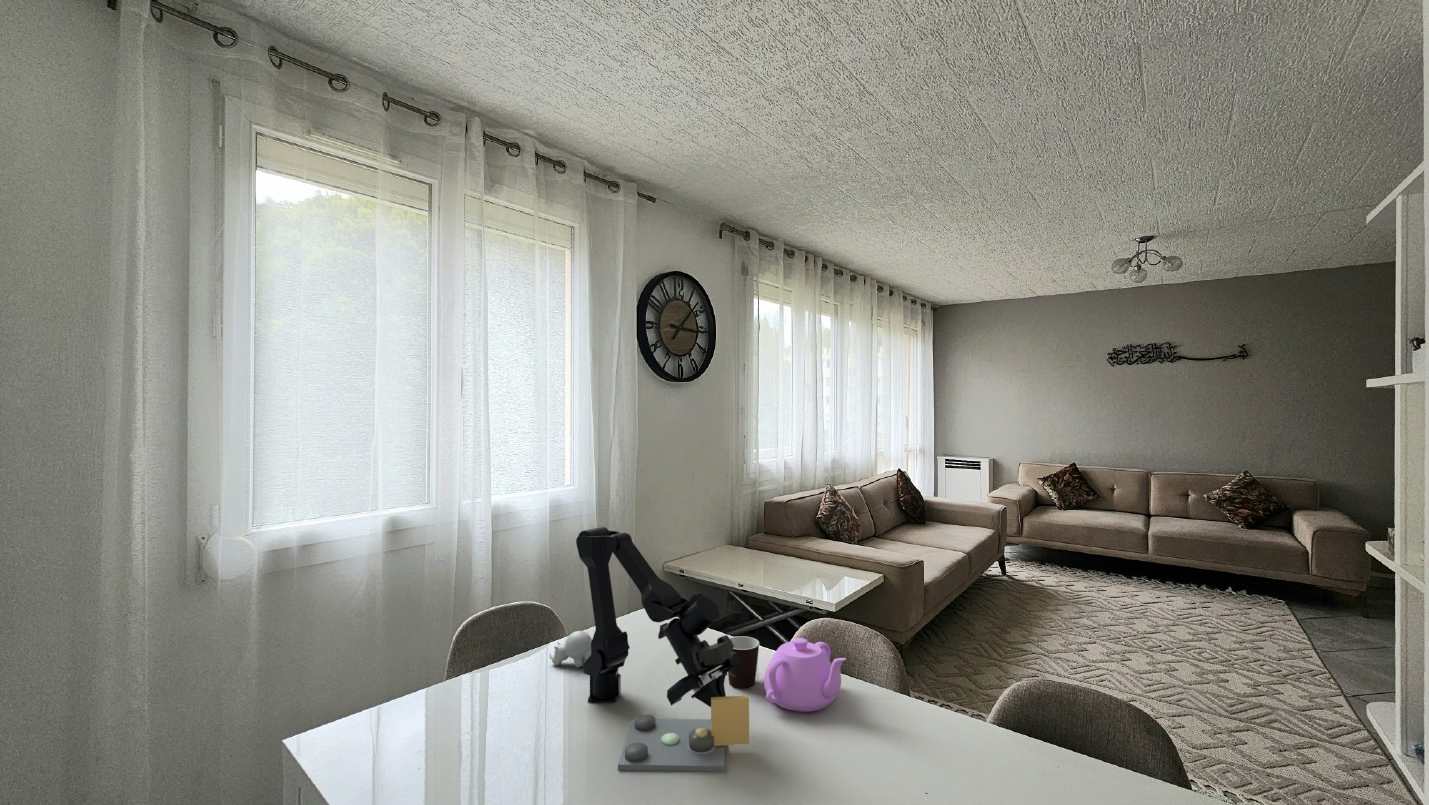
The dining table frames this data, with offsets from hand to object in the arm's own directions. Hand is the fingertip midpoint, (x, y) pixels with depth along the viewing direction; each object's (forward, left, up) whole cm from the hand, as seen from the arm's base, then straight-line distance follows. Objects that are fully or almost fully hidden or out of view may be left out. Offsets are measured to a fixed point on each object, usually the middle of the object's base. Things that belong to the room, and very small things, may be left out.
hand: (727, 716), depth 120 cm
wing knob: (-2, -1, -5) cm, 5 cm away
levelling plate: (-11, 0, -6) cm, 12 cm away
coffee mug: (+3, +30, -6) cm, 31 cm away
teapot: (+18, +19, -6) cm, 27 cm away
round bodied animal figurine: (-42, +39, -7) cm, 57 cm away
